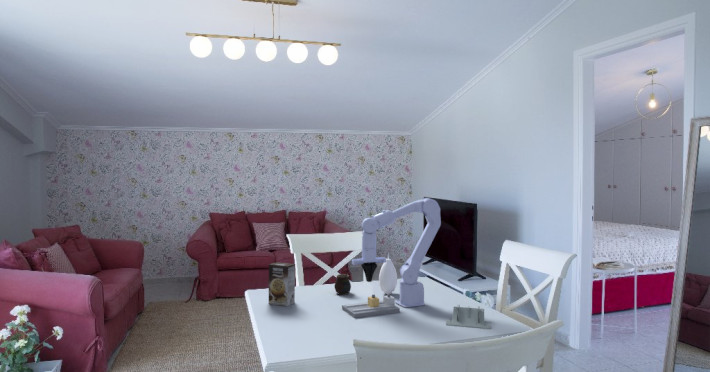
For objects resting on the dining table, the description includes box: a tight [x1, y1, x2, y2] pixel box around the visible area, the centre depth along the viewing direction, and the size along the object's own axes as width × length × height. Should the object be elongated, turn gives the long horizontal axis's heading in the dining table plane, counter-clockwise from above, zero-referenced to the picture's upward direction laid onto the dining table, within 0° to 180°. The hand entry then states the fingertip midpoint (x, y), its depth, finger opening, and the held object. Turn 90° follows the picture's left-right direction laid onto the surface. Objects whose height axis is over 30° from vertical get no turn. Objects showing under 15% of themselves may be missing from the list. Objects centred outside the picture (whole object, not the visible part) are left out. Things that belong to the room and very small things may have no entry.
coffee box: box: [268, 261, 296, 307], centre depth 195 cm, size 9×6×16 cm
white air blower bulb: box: [378, 252, 398, 295], centre depth 211 cm, size 8×8×18 cm
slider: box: [367, 294, 380, 307], centre depth 186 cm, size 3×4×4 cm
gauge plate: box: [341, 293, 401, 319], centre depth 186 cm, size 19×12×6 cm, turn 114°
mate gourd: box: [334, 272, 352, 295], centre depth 211 cm, size 7×8×10 cm
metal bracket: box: [445, 304, 491, 330], centre depth 173 cm, size 14×6×15 cm
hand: (368, 281), depth 194 cm, fingers closed
